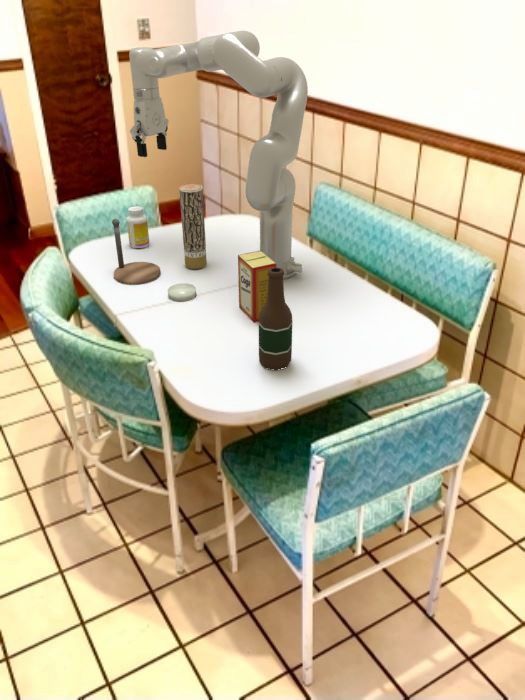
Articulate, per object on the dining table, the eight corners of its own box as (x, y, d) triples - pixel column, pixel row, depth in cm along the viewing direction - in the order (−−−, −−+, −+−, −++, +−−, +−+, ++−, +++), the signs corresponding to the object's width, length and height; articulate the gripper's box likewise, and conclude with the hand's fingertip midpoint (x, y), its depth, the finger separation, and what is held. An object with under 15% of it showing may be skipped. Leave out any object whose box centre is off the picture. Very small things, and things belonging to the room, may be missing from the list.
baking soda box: (275, 317, 171) (276, 262, 162) (253, 322, 168) (252, 266, 160) (260, 302, 178) (260, 249, 170) (239, 307, 176) (237, 253, 167)
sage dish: (201, 292, 184) (201, 286, 183) (185, 303, 178) (185, 297, 177) (178, 286, 187) (178, 281, 186) (162, 297, 181) (162, 291, 180)
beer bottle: (290, 353, 155) (292, 262, 143) (292, 370, 148) (295, 277, 136) (258, 353, 155) (257, 262, 142) (259, 371, 148) (258, 277, 136)
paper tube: (182, 263, 201) (176, 185, 188) (202, 259, 204) (197, 182, 191) (189, 271, 196) (183, 192, 183) (209, 267, 198) (205, 188, 185)
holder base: (169, 270, 197) (165, 218, 188) (141, 288, 186) (135, 234, 177) (133, 262, 202) (127, 211, 194) (104, 278, 192) (96, 225, 183)
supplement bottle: (153, 244, 215) (150, 207, 208) (140, 250, 210) (136, 213, 204) (138, 240, 218) (134, 203, 211) (125, 246, 213) (120, 209, 207)
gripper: (138, 99, 180) (144, 160, 189) (174, 90, 193) (178, 147, 201) (117, 97, 183) (125, 158, 192) (154, 88, 196) (159, 145, 205)
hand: (152, 152), depth 197 cm, fingers open, 9 cm apart
